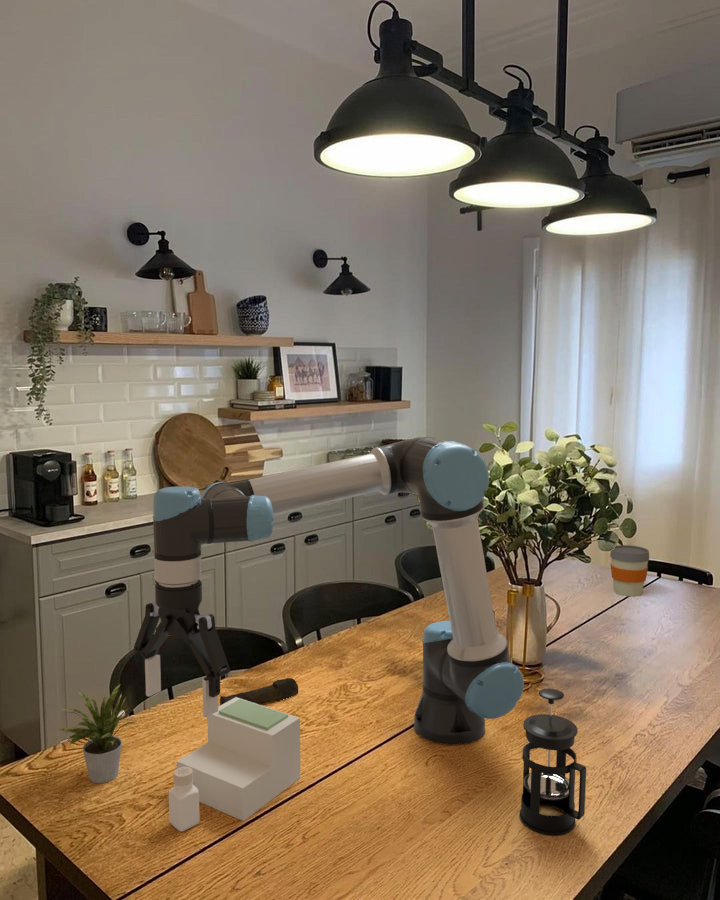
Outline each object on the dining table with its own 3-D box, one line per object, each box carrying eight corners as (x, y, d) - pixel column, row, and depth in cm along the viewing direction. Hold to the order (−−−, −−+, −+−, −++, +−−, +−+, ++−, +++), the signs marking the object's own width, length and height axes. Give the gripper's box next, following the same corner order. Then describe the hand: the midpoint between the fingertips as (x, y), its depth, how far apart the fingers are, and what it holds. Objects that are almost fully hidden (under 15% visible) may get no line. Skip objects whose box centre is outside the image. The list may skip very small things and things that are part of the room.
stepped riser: (300, 777, 142) (299, 715, 140) (243, 821, 129) (242, 752, 127) (237, 753, 151) (235, 694, 149) (177, 792, 137) (175, 727, 136)
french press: (505, 818, 130) (509, 691, 127) (533, 795, 136) (537, 674, 134) (568, 848, 122) (573, 713, 119) (594, 822, 128) (599, 694, 126)
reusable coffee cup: (611, 597, 251) (613, 553, 249) (605, 586, 263) (607, 544, 261) (651, 599, 249) (653, 555, 247) (643, 587, 261) (645, 545, 259)
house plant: (82, 752, 151) (79, 674, 149) (150, 753, 151) (147, 675, 149) (51, 792, 137) (47, 707, 135) (126, 794, 137) (123, 708, 135)
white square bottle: (188, 813, 131) (187, 762, 130) (201, 823, 128) (199, 771, 127) (168, 823, 128) (166, 771, 127) (180, 834, 125) (178, 780, 124)
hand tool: (224, 718, 166) (224, 698, 166) (219, 710, 170) (218, 691, 169) (302, 700, 175) (302, 681, 175) (295, 693, 179) (295, 674, 178)
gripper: (250, 587, 120) (252, 713, 123) (144, 564, 134) (148, 678, 136) (217, 600, 114) (220, 732, 116) (110, 574, 127) (114, 693, 130)
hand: (181, 703), depth 126 cm, fingers open, 13 cm apart
